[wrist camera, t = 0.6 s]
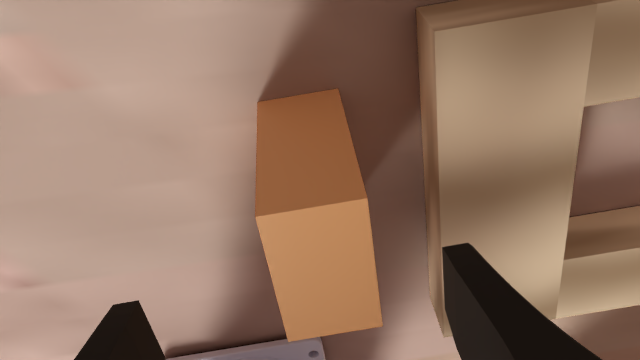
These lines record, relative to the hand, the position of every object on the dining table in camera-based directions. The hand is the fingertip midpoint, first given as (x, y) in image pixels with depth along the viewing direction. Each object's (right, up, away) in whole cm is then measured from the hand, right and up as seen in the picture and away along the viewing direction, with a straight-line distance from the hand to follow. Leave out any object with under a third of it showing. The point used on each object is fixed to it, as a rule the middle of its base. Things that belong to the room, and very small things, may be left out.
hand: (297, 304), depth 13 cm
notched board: (+10, +4, +10) cm, 15 cm away
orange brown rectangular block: (0, +4, +9) cm, 10 cm away
